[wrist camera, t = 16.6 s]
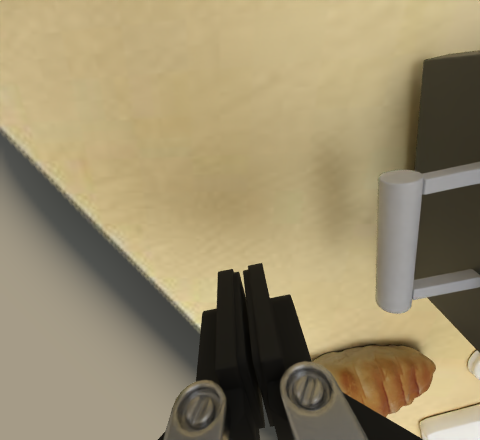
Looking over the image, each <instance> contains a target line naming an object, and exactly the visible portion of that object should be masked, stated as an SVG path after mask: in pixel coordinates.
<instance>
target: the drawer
mask: <svg viewBox="0 0 480 440" xmlns="http://www.w3.org/2000/svg"><path fill="white" fill-rule="evenodd" d="M426 297H427V298H428V299H429V300H430V301H431V302H432V303H433V304H434V305H435V306H436V307H437V308H438V309H439V310H440V311H441V312H442V314H443V315H444V316H445V317H446V318H447V319H448V320H449V321H450V322H451V323H452V324H453V325H454V326H455V327H456V328H457V329H458V330H459V331H460V333H461V334H462V335H463V336H464V337H465V338H466V339H467V340H468V341H469V342H470V343H471V344H472V345H473V346H474V347H475V348H476V349H477V350H478V352H479V353H480V51H472V52H464V53H456V54H448V55H444V56H439V57H435V58H430V59H426V60H424V62H423V74H422V86H421V98H420V111H419V123H418V135H417V147H416V160H415V171H413V170H393V171H388V172H385V173H382V174H381V175H380V176H379V178H378V211H377V260H376V302H377V304H378V306H379V307H380V308H382V309H383V310H385V311H387V312H390V313H397V314H398V313H404V312H406V311H408V310H409V309H410V308H411V303H412V299H413V300H416V299H421V298H426Z"/></svg>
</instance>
